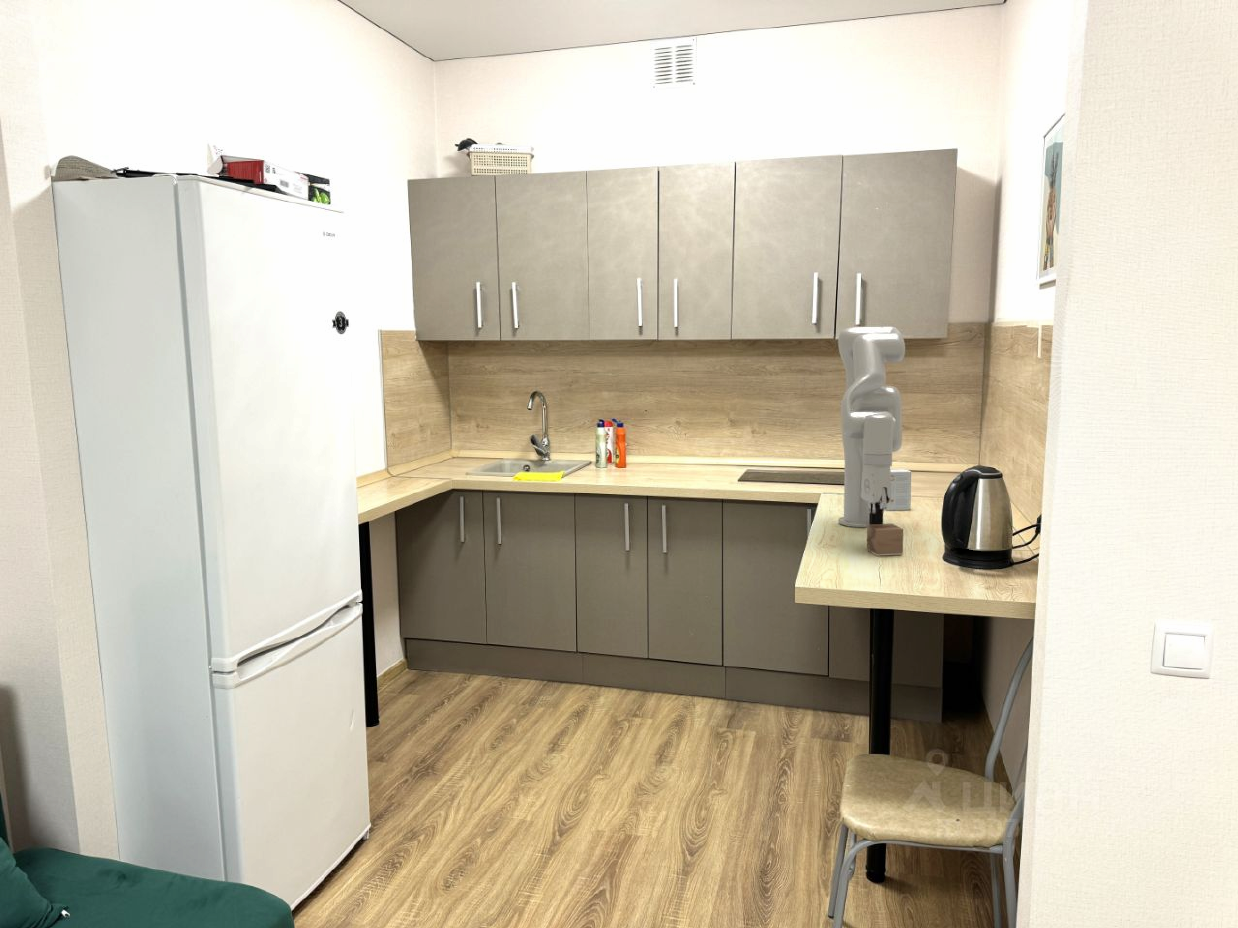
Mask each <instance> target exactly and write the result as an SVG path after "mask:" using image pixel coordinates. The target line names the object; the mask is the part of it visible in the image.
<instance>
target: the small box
mask: <svg viewBox="0 0 1238 928" xmlns="http://www.w3.org/2000/svg"><path fill="white" fill-rule="evenodd" d="M890 471H891V501H890V502H889V503H887V508H886V509H884V511H911V502H912V501H911V500H912V471H911V470H909V469H906V468H900V469H898V468H896V469H895V468H893V469H892V468H890Z"/></svg>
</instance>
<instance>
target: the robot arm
mask: <svg viewBox="0 0 1238 928" xmlns="http://www.w3.org/2000/svg"><path fill="white" fill-rule="evenodd" d="M837 341H838V344H837V345H838V351H839V355H840V359H841V361H842V364H843V366H844V370H845V375H846V378H845V380H846V384H845V385H846V388H845V389H846V390H845V391H846V392H845V393H844V395H843V397H842V399H841V404H840V417H841V418H840V419H841V420H840V421H841V430H842V432H841V433H842V435H841V437H842V444H843V454H844V482H843V483H844V487H843V489H844V490H843V492H844V493H843V501H844V502H843V516H841V517H840V518H838V524H839V525H843V526H846V527H851V528H852V527H853V528H867V525H872V524H884V514H885V513H884V512H885V509H886V508H887V503H889V502H890V501H891V471H890V469H891V467H892V466H893V453H895V452H898V451H899V450H900V449H901V447H902V444H903V413H902V396H901V393H900V390H899V389H898V388H897V387H895V386H893V385H886V382H887V377H886V376H887V375H886V369H885V367H886V365H885V363H900V362H902V361H903V360H904V357H905V354H906V343H905V340H904V337H903V335H902V333H901V332H900V330H899V329H898V328H897V327H895V326H890V325H889V326H852V327H846V328H844V329H842V330H841V331H840V332H839V335H838V338H837Z"/></svg>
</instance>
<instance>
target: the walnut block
mask: <svg viewBox="0 0 1238 928" xmlns="http://www.w3.org/2000/svg"><path fill="white" fill-rule="evenodd" d="M903 550H904V528H902V527H901V526H898V525H896V524H894V523H883V524H872V525H867V527H866V551H868V552H870V553H872V554H874V555H875V556H877V557H878V556H895V555H896V556H898V555H903V554H904V553H903V552H904V551H903Z"/></svg>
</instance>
